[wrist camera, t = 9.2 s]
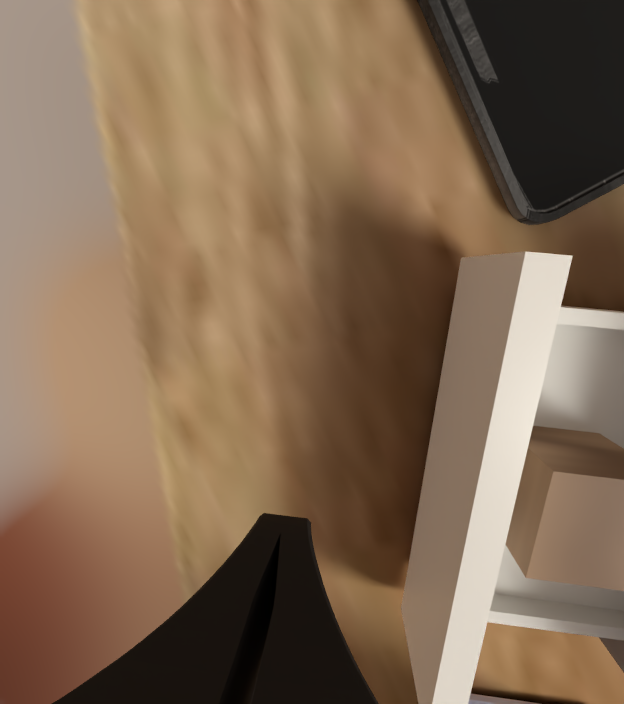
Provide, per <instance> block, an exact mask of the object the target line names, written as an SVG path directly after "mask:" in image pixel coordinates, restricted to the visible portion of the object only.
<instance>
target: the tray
mask: <svg viewBox="0 0 624 704" xmlns="http://www.w3.org/2000/svg"><path fill="white" fill-rule="evenodd" d="M572 257H573V256H570V255H559V254H548V253H537V252H515V253H505V254H495V255H484V256H474V257H463V258H461V261H460V267H459V273H458V279H457V285H456V290H455V296H454V302H453V308H452V314H451V320H450V325H449V331H448V337H447V343H446V349H445V355H444V360H443V366H442V372H441V378H440V384H439V390H438V395H437V401H436V407H435V413H434V419H433V425H432V431H431V436H430V442H429V448H428V454H427V460H426V466H425V471H424V477H423V483H422V489H421V495H420V501H419V506H418V512H417V518H416V524H415V530H414V536H413V541H412V547H411V553H410V559H409V565H408V571H407V576H406V582H405V588H404V594H403V600H402V606H401V611H402V617H403V622H404V627H405V633H406V638H407V644H408V649H409V655H410V660H411V666H412V671H413V677H414V682H415V688H416V693H417V699H418V704H468V702H469V698H470V694H471V689H472V685H473V681H474V677H475V672H476V668H477V664H478V659H479V655H480V651H481V647H482V642H483V638H484V634H485V629H486V625H487V622H491V623H498V624H505V625H513V626H520V627H528V628H535V629H542V630H550V631H557V632H564V633H572V634H579V635H587V636H594V637H601V638H609V639H616V640H623V641H624V591H620V590H612V589H605V588H597V587H590V586H582V585H575V584H567V583H560V582H552V581H545V580H537V579H530V578H526V577H525V576H524V574H523V572H522V571H521V569H520V568H519V566H518V564H517V563H516V561H515V559H514V558H513V556H512V554H511V553H510V551H509V549H508V548H507V546H506V539H507V535H508V531H509V527H510V522H511V518H512V514H513V509H514V505H515V501H516V497H517V492H518V488H519V484H520V479H521V475H522V471H523V467H524V462H525V458H526V454H527V449H528V445H529V441H530V437H531V432H532V428H533V426H541V427H549V428H558V429H567V430H575V431H584V432H593V433H600V434H601V435H603V436H604V437H606V438H608V439H609V440H611V441H612V442H614V443H616V444H617V445H619V446H620V447H622V448H623V449H624V311H614V310H603V309H593V308H582V307H572V306H561V304H562V299H563V295H564V291H565V287H566V282H567V278H568V274H569V269H570V265H571V261H572Z"/></svg>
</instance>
